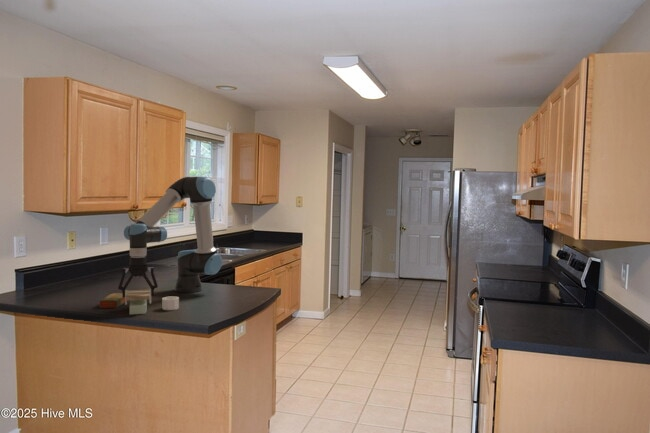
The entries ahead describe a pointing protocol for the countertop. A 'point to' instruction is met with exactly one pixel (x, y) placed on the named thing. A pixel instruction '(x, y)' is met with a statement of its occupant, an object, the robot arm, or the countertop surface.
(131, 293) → the maple board
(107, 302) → the carton
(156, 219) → the robot arm
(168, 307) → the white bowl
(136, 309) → the green stand
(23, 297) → the countertop surface
